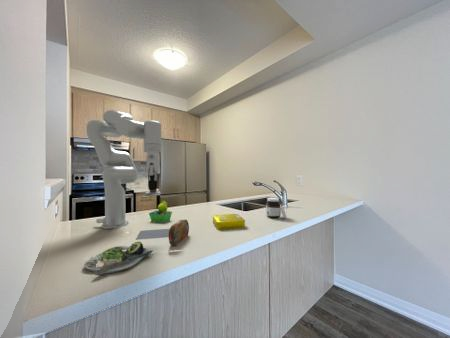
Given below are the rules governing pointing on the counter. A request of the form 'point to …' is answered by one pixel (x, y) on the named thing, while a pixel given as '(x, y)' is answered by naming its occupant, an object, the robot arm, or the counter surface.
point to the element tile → (228, 221)
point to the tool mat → (153, 234)
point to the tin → (178, 232)
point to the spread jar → (274, 208)
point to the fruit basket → (161, 213)
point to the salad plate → (117, 258)
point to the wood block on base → (153, 193)
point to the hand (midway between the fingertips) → (153, 189)
